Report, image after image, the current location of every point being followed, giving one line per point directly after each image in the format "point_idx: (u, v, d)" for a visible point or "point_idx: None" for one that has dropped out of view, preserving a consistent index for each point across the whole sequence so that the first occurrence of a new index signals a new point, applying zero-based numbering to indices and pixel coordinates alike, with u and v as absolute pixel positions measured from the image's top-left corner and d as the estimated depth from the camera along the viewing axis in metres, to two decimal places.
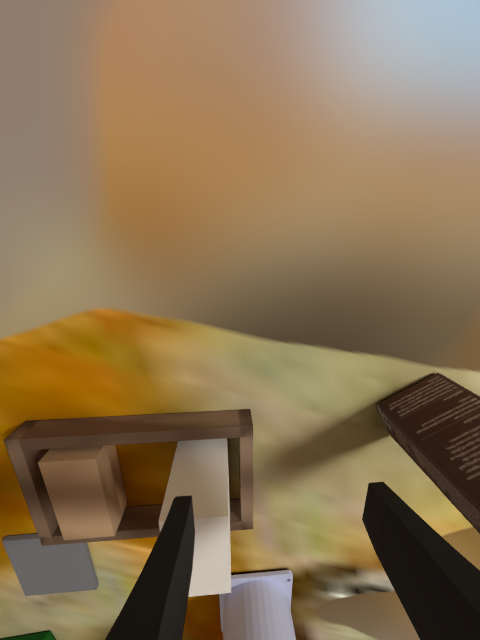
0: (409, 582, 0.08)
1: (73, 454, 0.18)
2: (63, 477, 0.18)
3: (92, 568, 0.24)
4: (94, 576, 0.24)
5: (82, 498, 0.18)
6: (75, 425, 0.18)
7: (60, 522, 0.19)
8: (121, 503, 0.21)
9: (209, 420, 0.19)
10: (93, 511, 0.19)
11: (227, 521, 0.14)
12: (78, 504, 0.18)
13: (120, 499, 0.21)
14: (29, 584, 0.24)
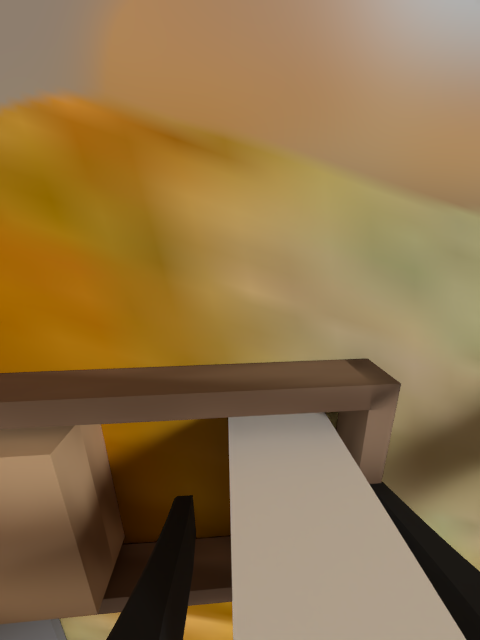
0: None
1: (2, 445, 0.08)
2: None
3: None
4: None
5: (25, 541, 0.08)
6: (13, 383, 0.09)
7: None
8: (113, 542, 0.11)
9: (298, 374, 0.09)
10: (51, 568, 0.09)
11: None
12: (17, 555, 0.08)
13: (110, 534, 0.11)
14: None
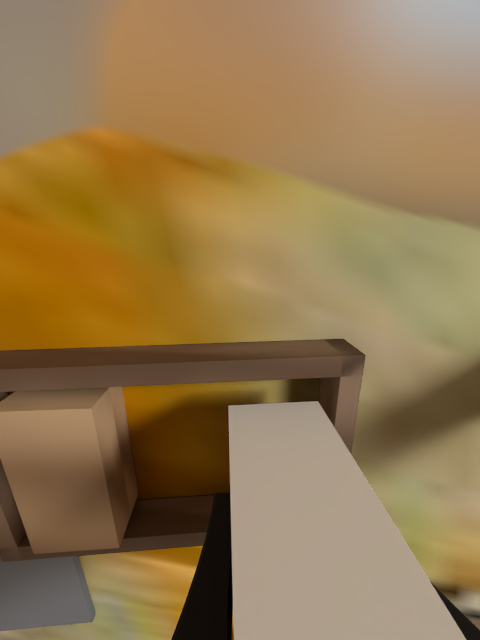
0: None
1: (52, 402, 0.10)
2: (32, 442, 0.10)
3: (86, 591, 0.16)
4: (89, 603, 0.16)
5: (66, 481, 0.10)
6: (55, 355, 0.11)
7: (27, 523, 0.11)
8: (130, 494, 0.13)
9: (285, 349, 0.11)
10: (85, 505, 0.11)
11: None
12: (59, 492, 0.11)
13: (128, 487, 0.13)
14: None
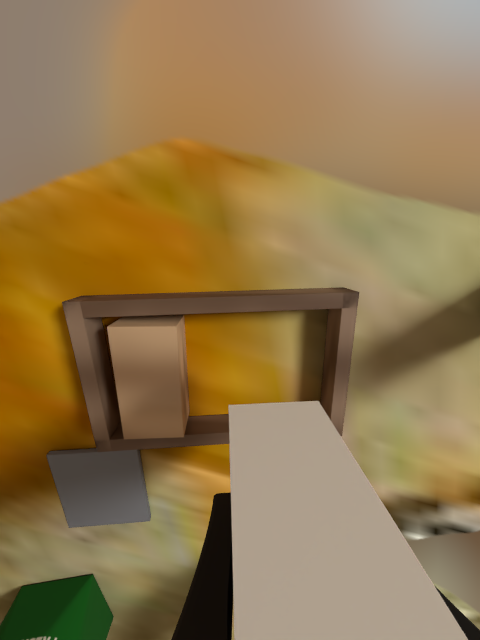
0: None
1: (148, 324, 0.14)
2: (134, 350, 0.14)
3: (146, 494, 0.21)
4: (147, 505, 0.21)
5: (153, 381, 0.15)
6: (143, 296, 0.15)
7: (123, 414, 0.16)
8: (186, 406, 0.18)
9: (302, 291, 0.16)
10: (163, 401, 0.15)
11: None
12: (147, 390, 0.15)
13: (186, 400, 0.18)
14: (74, 512, 0.21)
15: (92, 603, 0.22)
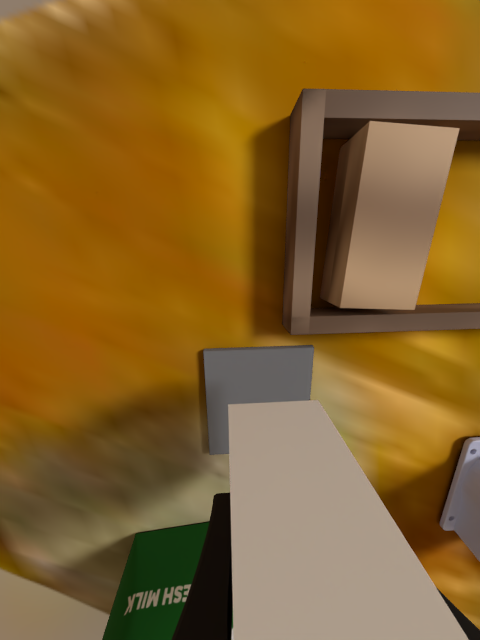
0: None
1: None
2: (394, 164, 0.10)
3: None
4: None
5: (403, 218, 0.11)
6: None
7: (350, 267, 0.12)
8: None
9: None
10: (407, 251, 0.12)
11: None
12: (391, 232, 0.11)
13: None
14: (220, 434, 0.17)
15: None
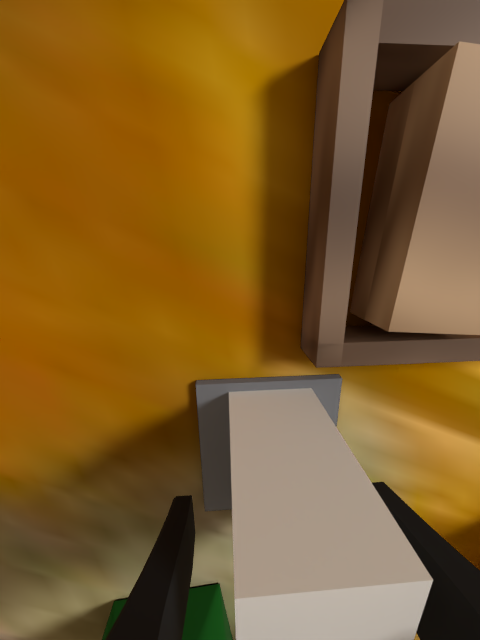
0: None
1: None
2: None
3: None
4: None
5: None
6: None
7: (407, 274, 0.08)
8: None
9: None
10: None
11: (424, 593, 0.05)
12: (472, 222, 0.08)
13: None
14: (218, 487, 0.13)
15: (226, 628, 0.15)
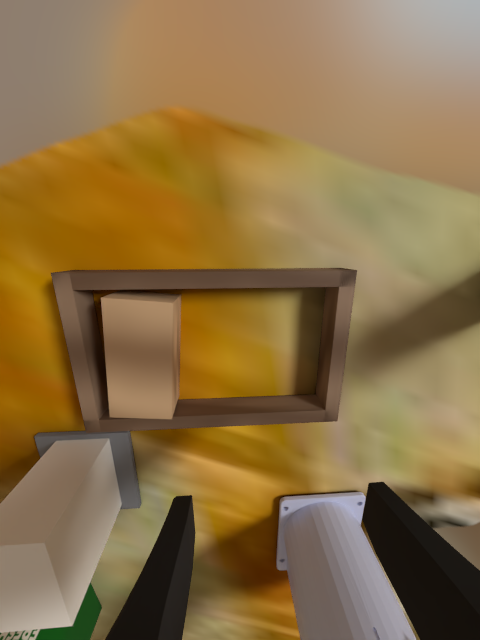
0: (409, 582, 0.08)
1: (143, 298, 0.14)
2: (128, 324, 0.14)
3: (136, 480, 0.20)
4: (138, 491, 0.21)
5: (144, 358, 0.15)
6: (135, 270, 0.15)
7: (110, 390, 0.15)
8: (177, 389, 0.17)
9: (299, 269, 0.15)
10: (154, 380, 0.15)
11: (45, 548, 0.12)
12: (137, 367, 0.15)
13: (177, 382, 0.17)
14: None
15: None
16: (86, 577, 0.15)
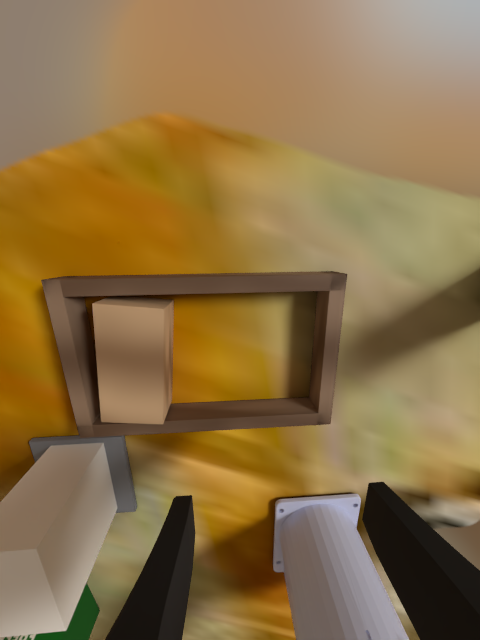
0: (409, 582, 0.08)
1: (135, 304, 0.14)
2: (119, 330, 0.14)
3: (132, 484, 0.20)
4: (133, 494, 0.21)
5: (136, 364, 0.15)
6: (126, 276, 0.15)
7: (102, 395, 0.15)
8: (169, 394, 0.17)
9: (290, 273, 0.15)
10: (145, 385, 0.15)
11: (37, 554, 0.12)
12: (129, 373, 0.15)
13: (169, 387, 0.17)
14: None
15: None
16: (80, 582, 0.15)
